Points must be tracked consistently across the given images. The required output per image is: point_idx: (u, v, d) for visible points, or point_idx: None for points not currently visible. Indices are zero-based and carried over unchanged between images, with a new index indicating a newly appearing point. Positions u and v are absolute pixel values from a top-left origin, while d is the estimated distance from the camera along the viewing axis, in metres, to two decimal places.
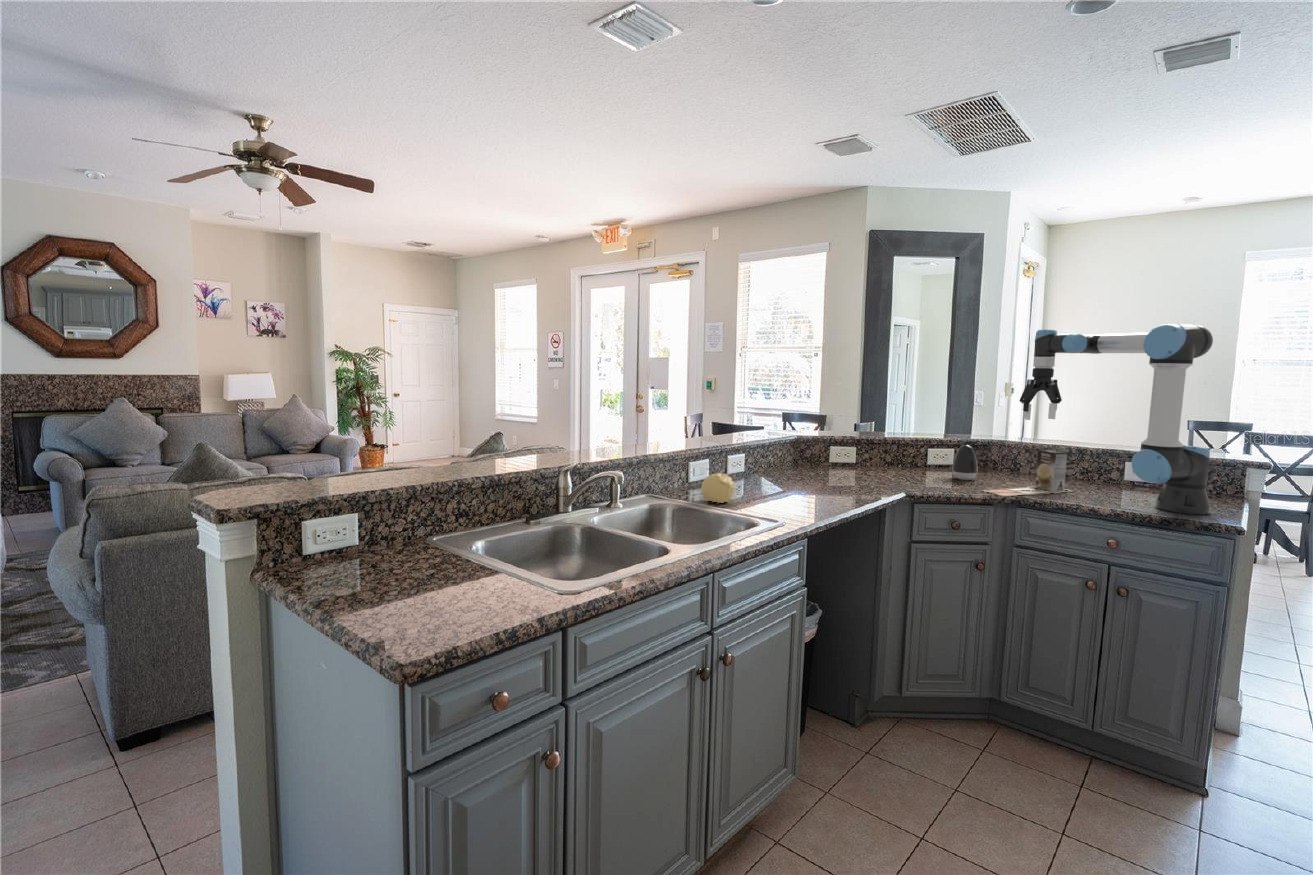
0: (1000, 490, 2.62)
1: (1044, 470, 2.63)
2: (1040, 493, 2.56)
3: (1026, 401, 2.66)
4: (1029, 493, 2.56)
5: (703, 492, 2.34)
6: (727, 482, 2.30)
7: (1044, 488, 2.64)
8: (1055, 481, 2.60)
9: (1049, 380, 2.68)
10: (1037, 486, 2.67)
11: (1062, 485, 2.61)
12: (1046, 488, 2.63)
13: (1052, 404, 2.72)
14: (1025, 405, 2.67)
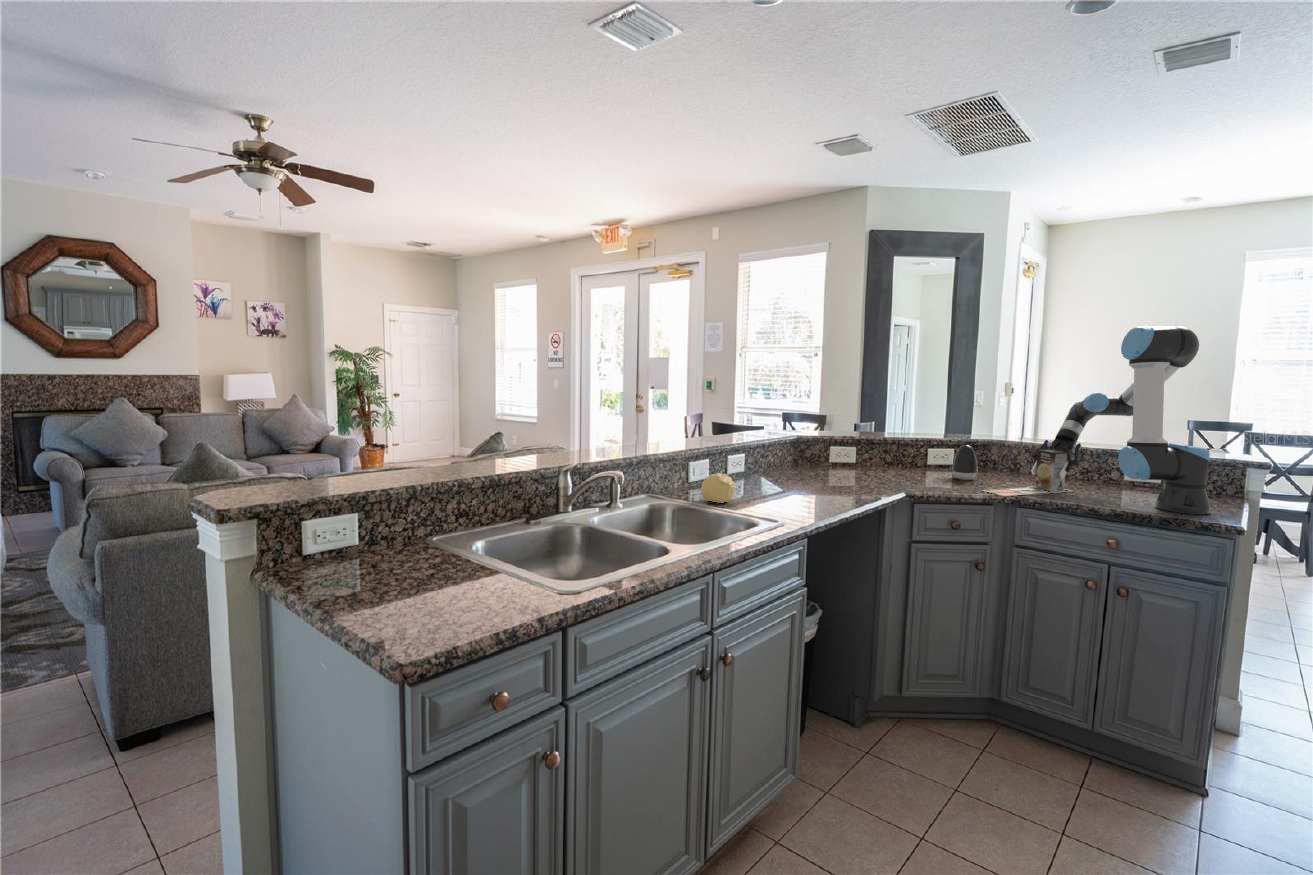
0: (1000, 490, 2.62)
1: (1044, 470, 2.63)
2: (1040, 493, 2.56)
3: (1034, 456, 2.71)
4: (1029, 493, 2.56)
5: (703, 492, 2.34)
6: (727, 482, 2.30)
7: (1044, 488, 2.64)
8: (1055, 481, 2.60)
9: (1070, 442, 2.65)
10: (1037, 486, 2.67)
11: (1062, 485, 2.61)
12: (1046, 488, 2.63)
13: None
14: None
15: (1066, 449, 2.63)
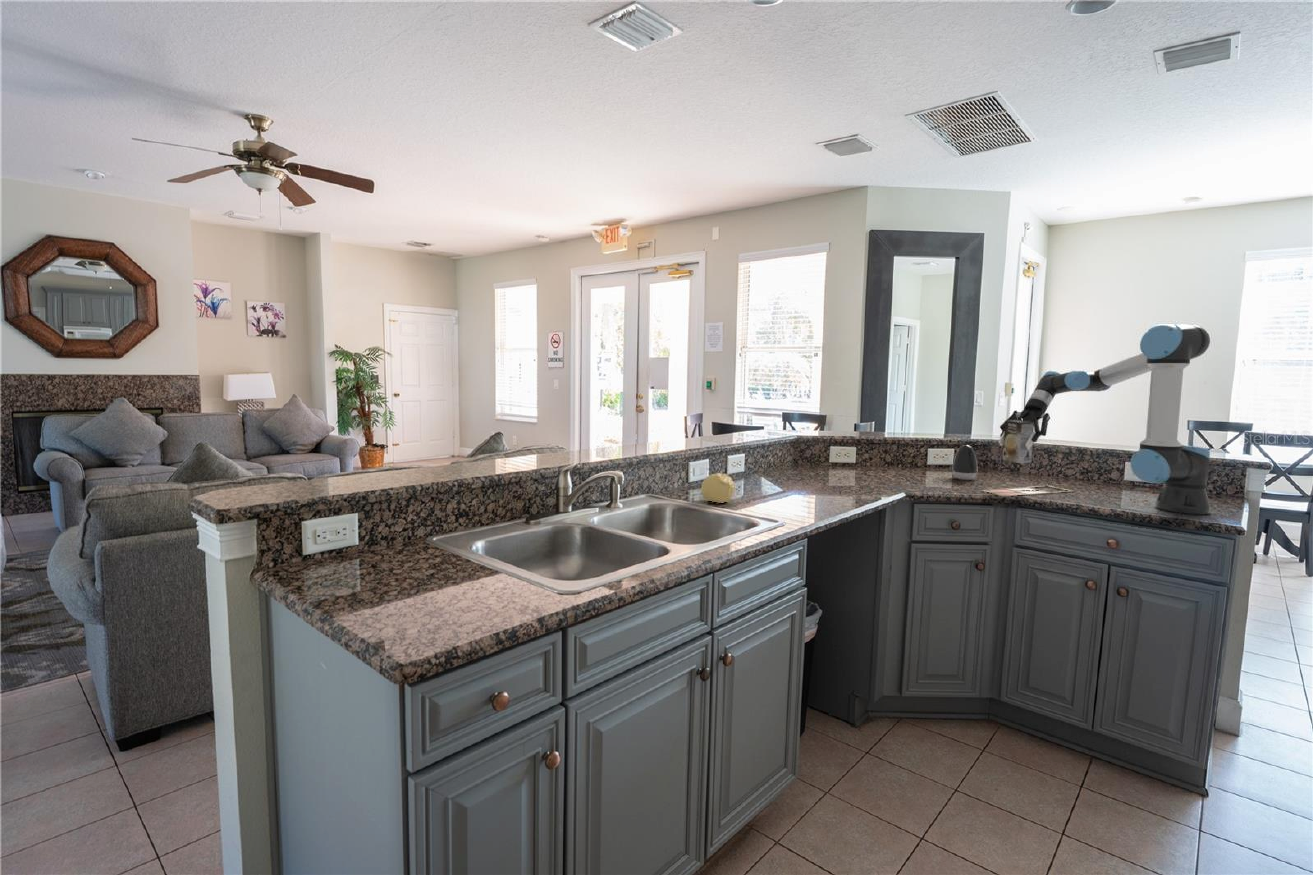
0: (1000, 490, 2.62)
1: (1011, 440, 2.59)
2: (1040, 493, 2.56)
3: (1002, 427, 2.66)
4: (1029, 493, 2.56)
5: (703, 492, 2.34)
6: (727, 482, 2.30)
7: (1011, 459, 2.60)
8: (1022, 452, 2.56)
9: (1038, 412, 2.60)
10: (1005, 457, 2.63)
11: (1029, 456, 2.57)
12: (1013, 459, 2.59)
13: None
14: None
15: (1034, 419, 2.59)
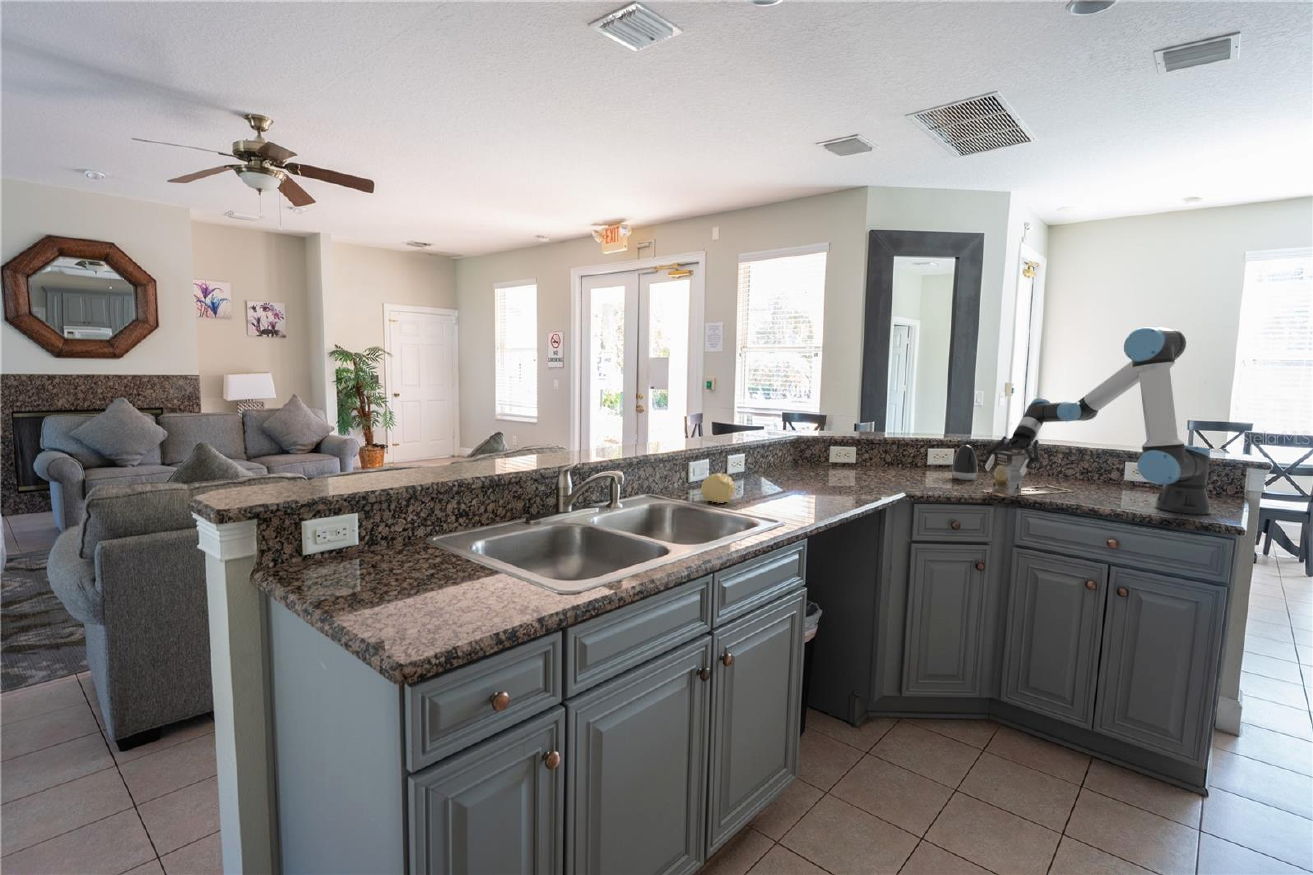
0: None
1: (1001, 472, 2.56)
2: (1040, 493, 2.56)
3: (988, 452, 2.65)
4: (1029, 493, 2.56)
5: (703, 492, 2.34)
6: (727, 482, 2.30)
7: (1001, 490, 2.56)
8: (1012, 484, 2.52)
9: (1027, 439, 2.58)
10: (994, 488, 2.59)
11: (1019, 488, 2.54)
12: (1003, 490, 2.55)
13: None
14: None
15: (1024, 446, 2.56)
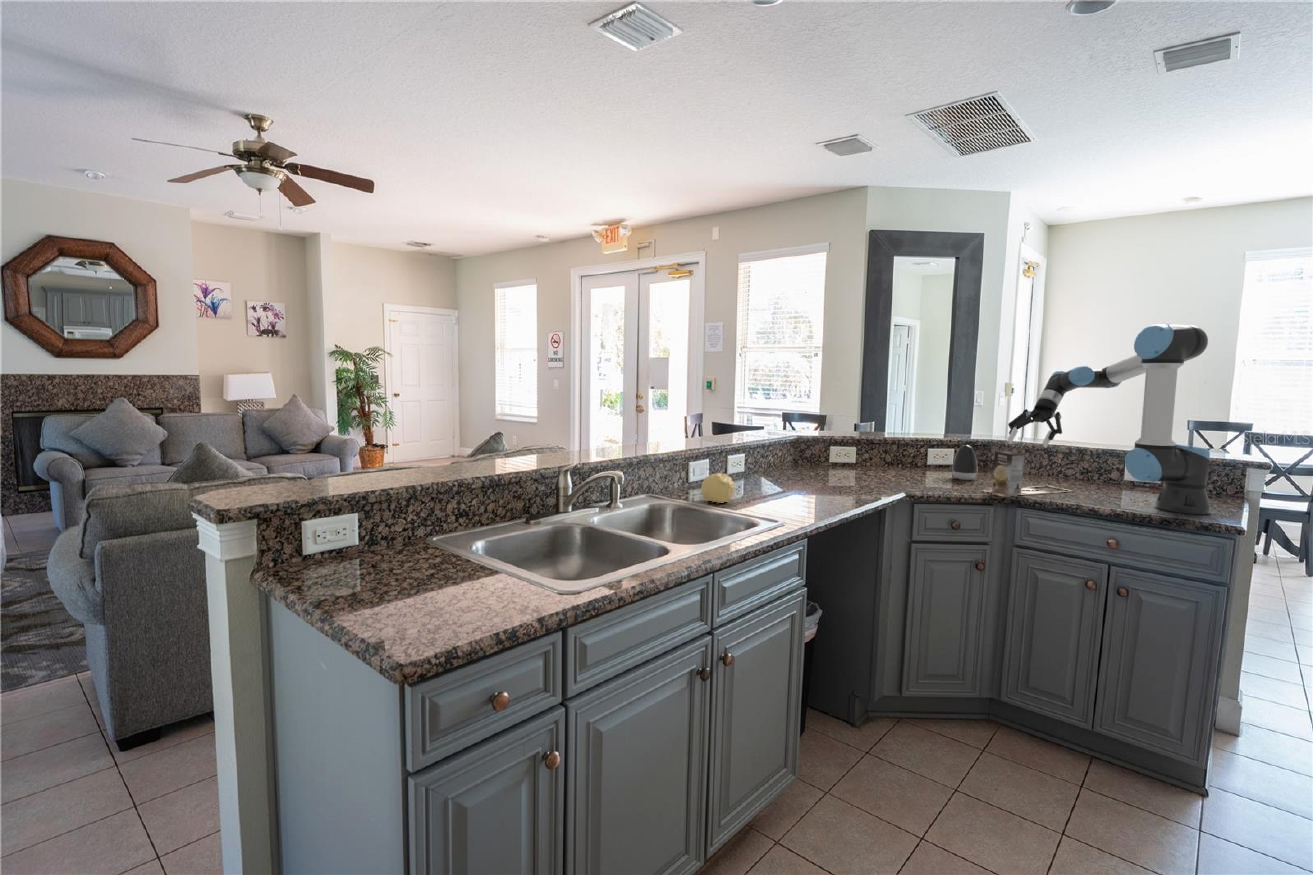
0: None
1: (1001, 472, 2.56)
2: (1040, 493, 2.56)
3: (1010, 424, 2.71)
4: (1029, 493, 2.56)
5: (703, 492, 2.34)
6: (727, 482, 2.30)
7: (1001, 490, 2.56)
8: (1012, 484, 2.52)
9: (1048, 411, 2.64)
10: (994, 488, 2.59)
11: (1019, 488, 2.54)
12: (1003, 490, 2.55)
13: None
14: None
15: (1046, 418, 2.62)
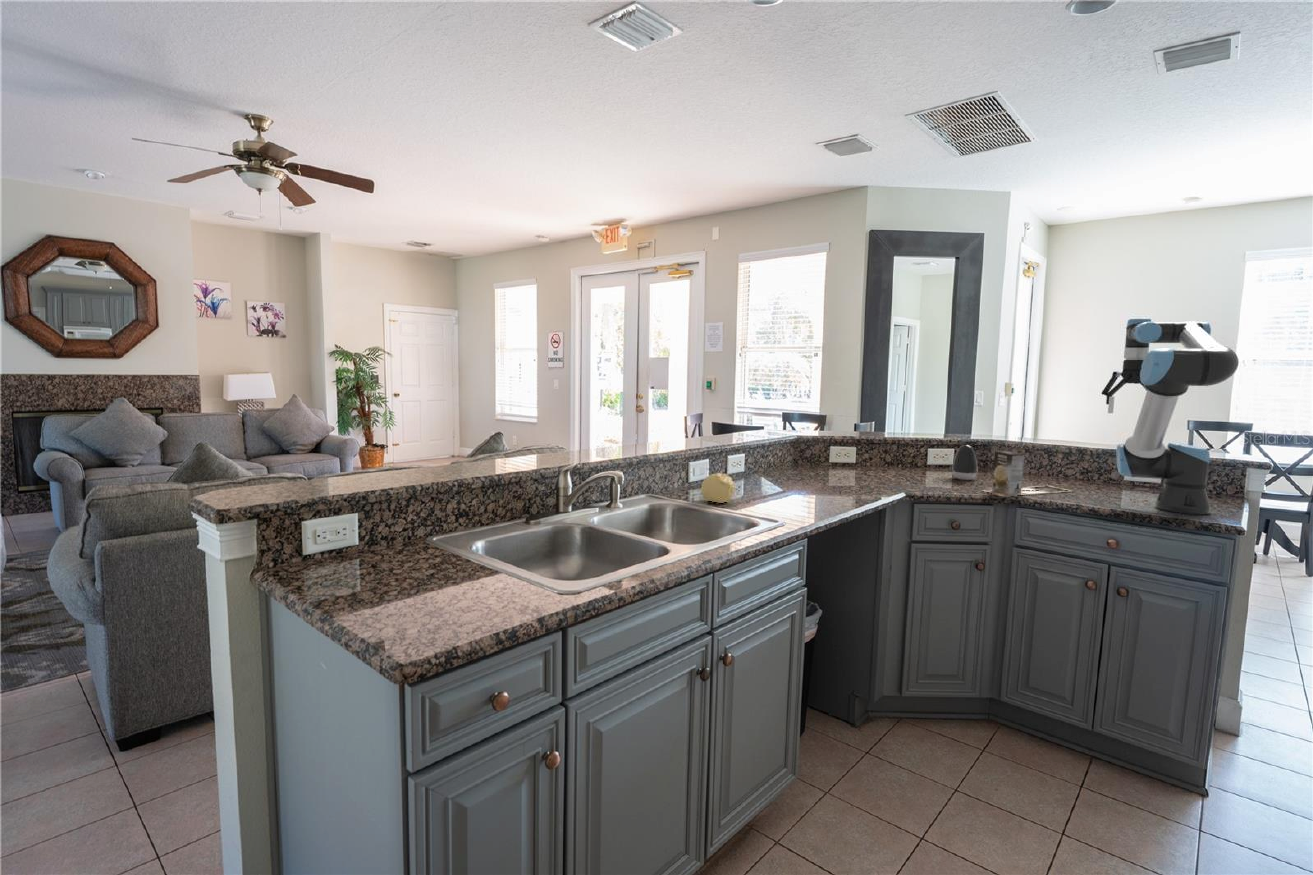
0: None
1: (1001, 472, 2.56)
2: (1040, 493, 2.56)
3: (1104, 393, 2.59)
4: (1029, 493, 2.56)
5: (703, 492, 2.34)
6: (727, 482, 2.30)
7: (1001, 490, 2.56)
8: (1012, 484, 2.52)
9: None
10: (994, 488, 2.59)
11: (1019, 488, 2.54)
12: (1003, 490, 2.55)
13: None
14: None
15: (1142, 383, 2.48)
